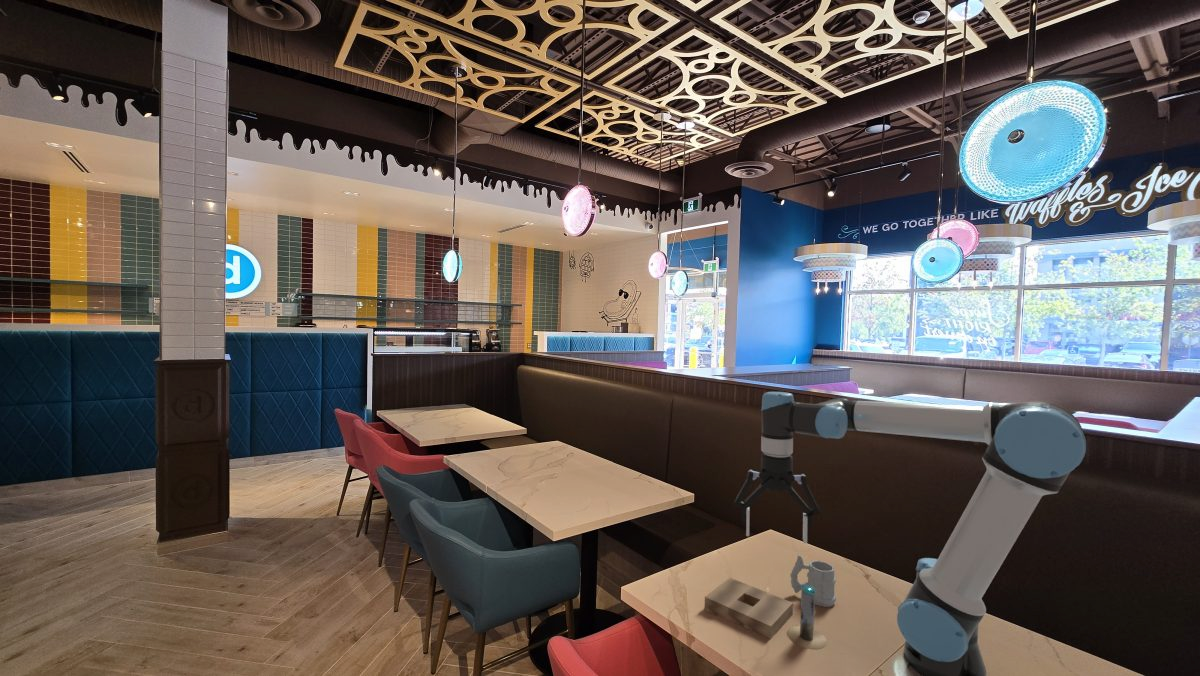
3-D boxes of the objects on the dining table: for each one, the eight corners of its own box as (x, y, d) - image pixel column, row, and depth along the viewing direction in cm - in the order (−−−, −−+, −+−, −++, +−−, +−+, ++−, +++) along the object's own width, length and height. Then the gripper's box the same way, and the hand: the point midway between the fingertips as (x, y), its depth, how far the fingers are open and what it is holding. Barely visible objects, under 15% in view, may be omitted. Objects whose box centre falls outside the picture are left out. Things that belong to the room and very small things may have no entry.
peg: (814, 636, 119) (816, 588, 119) (810, 642, 117) (812, 593, 116) (802, 631, 121) (804, 583, 121) (797, 636, 119) (799, 588, 118)
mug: (838, 611, 131) (839, 567, 130) (790, 602, 134) (792, 559, 134) (833, 596, 138) (835, 554, 138) (788, 588, 142) (790, 547, 141)
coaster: (831, 638, 119) (831, 636, 119) (819, 656, 112) (819, 654, 112) (794, 622, 125) (794, 621, 125) (780, 638, 118) (780, 636, 118)
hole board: (792, 616, 128) (793, 602, 128) (770, 640, 118) (771, 626, 117) (729, 589, 140) (729, 577, 140) (704, 609, 130) (704, 596, 130)
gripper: (828, 454, 123) (827, 538, 123) (726, 446, 130) (725, 525, 131) (833, 461, 116) (832, 550, 116) (725, 453, 123) (724, 536, 123)
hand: (775, 537), depth 123 cm, fingers open, 13 cm apart
